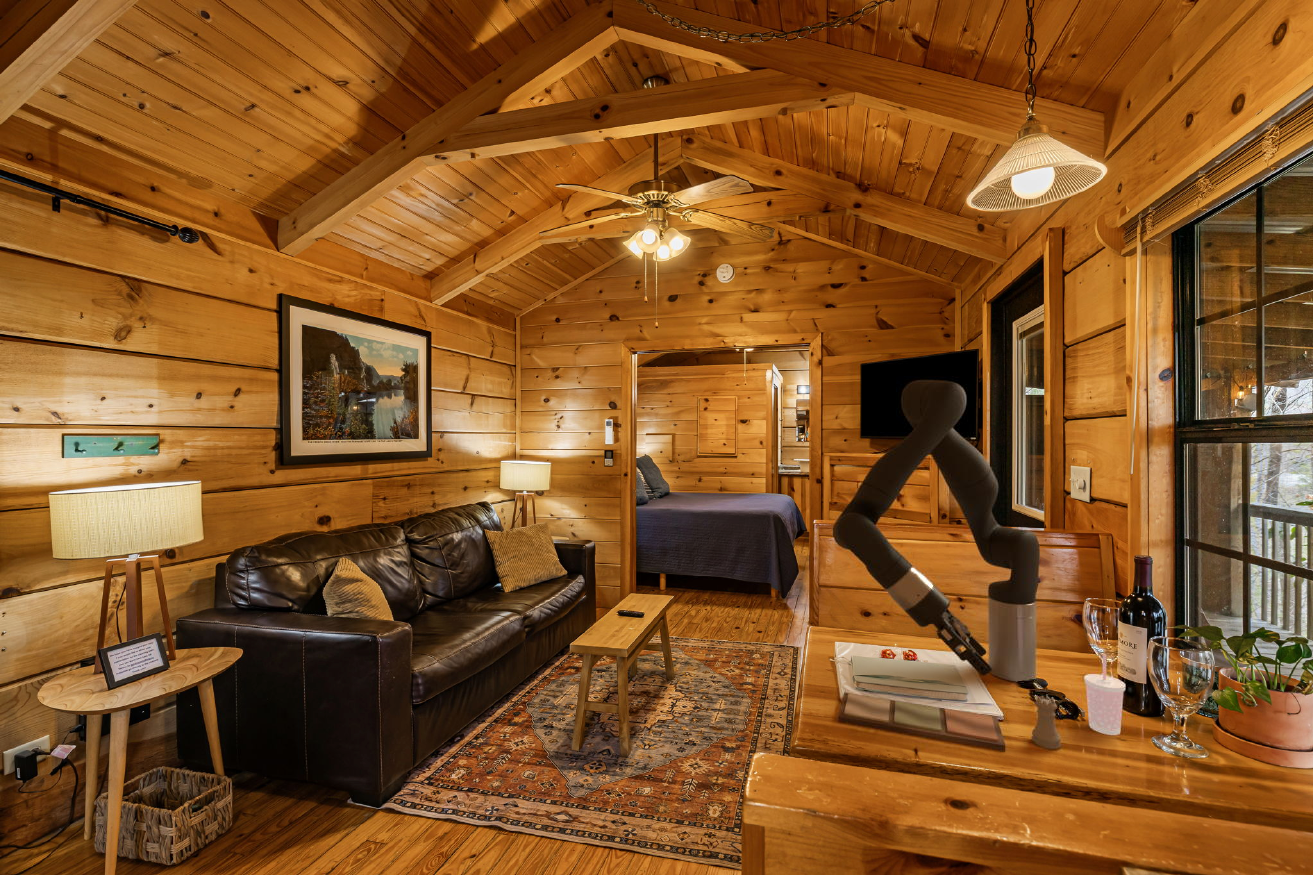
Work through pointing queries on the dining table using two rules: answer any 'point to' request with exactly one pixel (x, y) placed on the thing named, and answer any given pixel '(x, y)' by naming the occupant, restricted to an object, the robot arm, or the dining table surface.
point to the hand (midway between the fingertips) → (985, 663)
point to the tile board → (922, 720)
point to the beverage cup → (1104, 702)
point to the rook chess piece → (1046, 725)
